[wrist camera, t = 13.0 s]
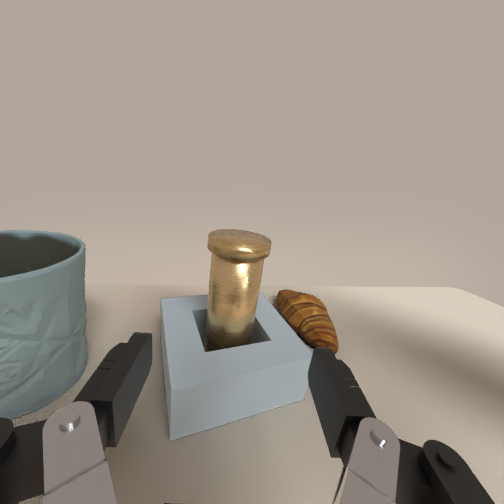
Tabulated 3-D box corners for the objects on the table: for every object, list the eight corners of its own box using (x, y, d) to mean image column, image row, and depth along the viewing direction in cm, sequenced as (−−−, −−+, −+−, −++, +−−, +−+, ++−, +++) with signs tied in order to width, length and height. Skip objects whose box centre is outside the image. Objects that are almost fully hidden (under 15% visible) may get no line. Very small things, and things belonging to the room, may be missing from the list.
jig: (254, 322, 33) (259, 290, 31) (304, 399, 23) (315, 357, 21) (160, 336, 28) (160, 298, 27) (169, 441, 18) (171, 390, 16)
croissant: (260, 301, 39) (265, 273, 37) (296, 298, 41) (302, 271, 40) (306, 365, 27) (316, 328, 26) (353, 355, 30) (364, 321, 28)
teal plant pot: (88, 328, 28) (77, 227, 24) (106, 392, 21) (95, 264, 17) (-48, 363, 22) (-93, 234, 18) (-88, 474, 14) (-178, 299, 11)
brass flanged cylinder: (240, 343, 29) (256, 229, 24) (258, 380, 24) (282, 248, 20) (194, 352, 27) (202, 228, 22) (204, 394, 22) (218, 248, 17)
